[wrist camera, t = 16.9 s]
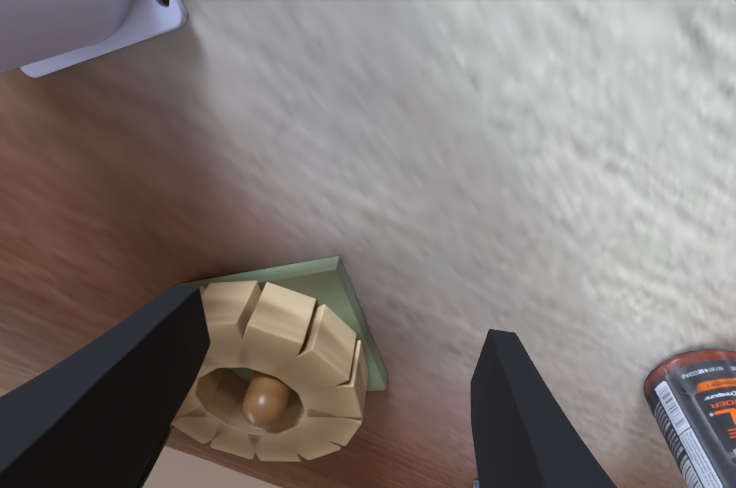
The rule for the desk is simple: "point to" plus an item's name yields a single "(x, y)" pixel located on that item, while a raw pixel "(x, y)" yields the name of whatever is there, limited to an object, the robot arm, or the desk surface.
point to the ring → (275, 373)
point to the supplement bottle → (698, 414)
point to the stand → (327, 288)
